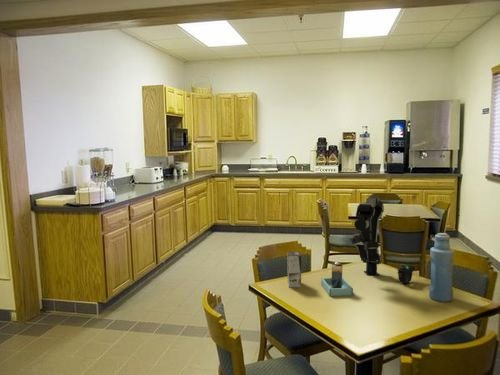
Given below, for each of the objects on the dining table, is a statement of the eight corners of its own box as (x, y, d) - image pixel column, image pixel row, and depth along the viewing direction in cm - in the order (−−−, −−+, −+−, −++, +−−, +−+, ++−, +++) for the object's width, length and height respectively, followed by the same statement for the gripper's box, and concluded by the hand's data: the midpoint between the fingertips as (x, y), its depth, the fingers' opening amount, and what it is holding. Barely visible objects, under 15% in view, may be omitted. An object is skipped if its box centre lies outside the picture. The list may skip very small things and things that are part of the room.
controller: (395, 284, 200) (396, 265, 199) (407, 278, 208) (408, 260, 207) (404, 286, 197) (404, 266, 196) (415, 280, 205) (416, 262, 204)
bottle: (455, 303, 176) (458, 236, 173) (431, 301, 178) (433, 235, 175) (449, 295, 185) (451, 231, 182) (426, 293, 187) (428, 231, 184)
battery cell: (329, 287, 196) (330, 261, 194) (340, 286, 196) (340, 261, 195) (332, 290, 191) (333, 264, 189) (343, 290, 191) (343, 264, 190)
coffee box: (301, 287, 198) (301, 255, 196) (288, 287, 198) (288, 255, 196) (299, 281, 207) (299, 251, 205) (287, 281, 207) (287, 251, 205)
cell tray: (321, 284, 201) (321, 278, 201) (342, 284, 202) (342, 277, 201) (329, 296, 185) (329, 289, 185) (352, 295, 186) (352, 288, 185)
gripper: (343, 227, 208) (343, 257, 208) (357, 230, 189) (357, 263, 189) (363, 227, 209) (363, 256, 209) (379, 230, 191) (379, 263, 191)
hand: (365, 259), depth 200 cm, fingers open, 9 cm apart
